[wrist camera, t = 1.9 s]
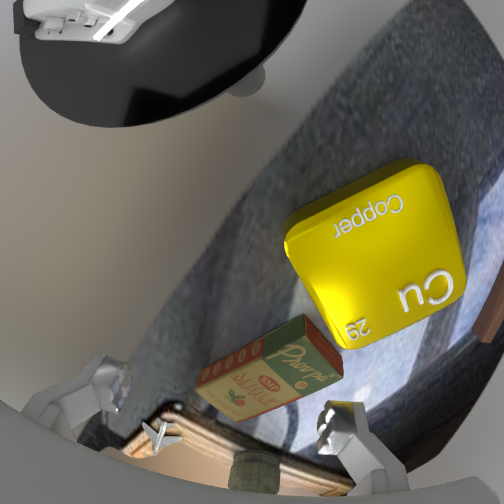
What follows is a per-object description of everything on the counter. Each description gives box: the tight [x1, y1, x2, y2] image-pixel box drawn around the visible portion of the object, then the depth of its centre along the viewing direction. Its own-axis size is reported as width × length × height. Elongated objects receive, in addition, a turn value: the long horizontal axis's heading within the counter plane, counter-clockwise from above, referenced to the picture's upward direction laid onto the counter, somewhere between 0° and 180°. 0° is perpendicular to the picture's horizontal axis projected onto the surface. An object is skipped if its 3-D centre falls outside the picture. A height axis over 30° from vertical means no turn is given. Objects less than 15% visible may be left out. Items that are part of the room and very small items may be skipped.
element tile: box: [284, 158, 467, 350], centre depth 27 cm, size 15×15×5 cm
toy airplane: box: [142, 414, 182, 456], centre depth 46 cm, size 8×21×2 cm, turn 159°
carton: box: [195, 314, 344, 423], centre depth 34 cm, size 8×16×4 cm, turn 129°
